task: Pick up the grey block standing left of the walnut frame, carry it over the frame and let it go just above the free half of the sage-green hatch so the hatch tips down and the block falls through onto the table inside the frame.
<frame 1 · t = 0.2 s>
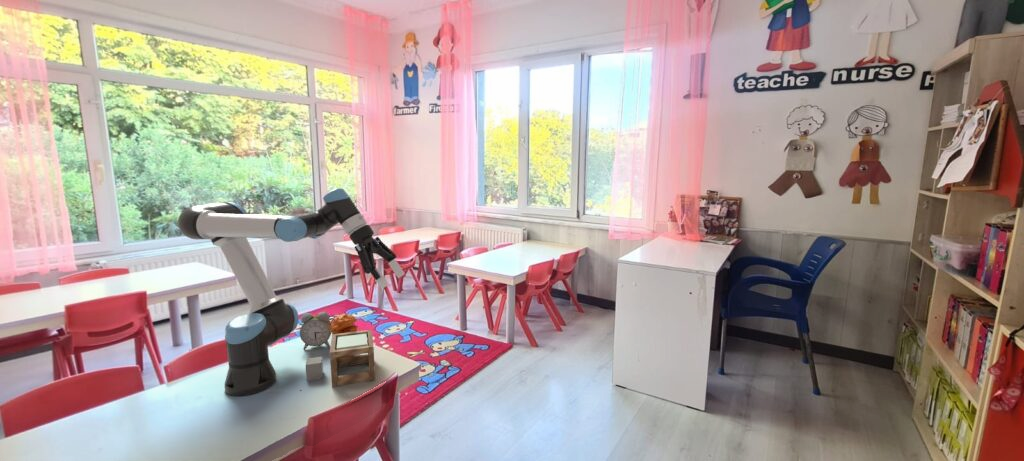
hand: (394, 281, 147), 35 cm above the table, tool tilted 35°, fingers open, 13 cm apart
grey block: (315, 376, 152), on the table
alarm clock: (317, 347, 176), on the table
frame: (353, 372, 155), on the table
hatch: (352, 341, 154), point 12 cm above the table, hinge at 0.0°
orange sculpture: (345, 356, 168), on the table
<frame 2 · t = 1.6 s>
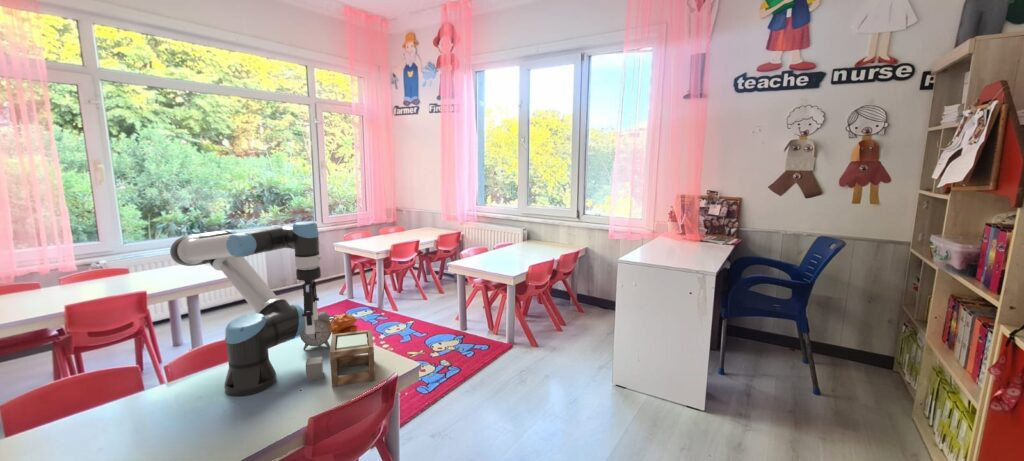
hand: (312, 326, 149), 19 cm above the table, tool pointing down, fingers open, 13 cm apart
nothing on the table moved.
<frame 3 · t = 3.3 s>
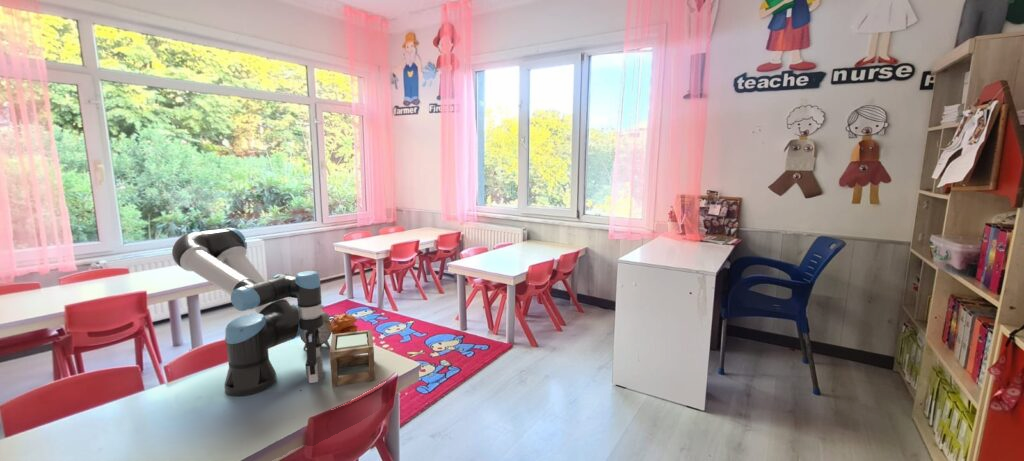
hand: (315, 373, 152), 1 cm above the table, tool pointing down, fingers open, 13 cm apart
nothing on the table moved.
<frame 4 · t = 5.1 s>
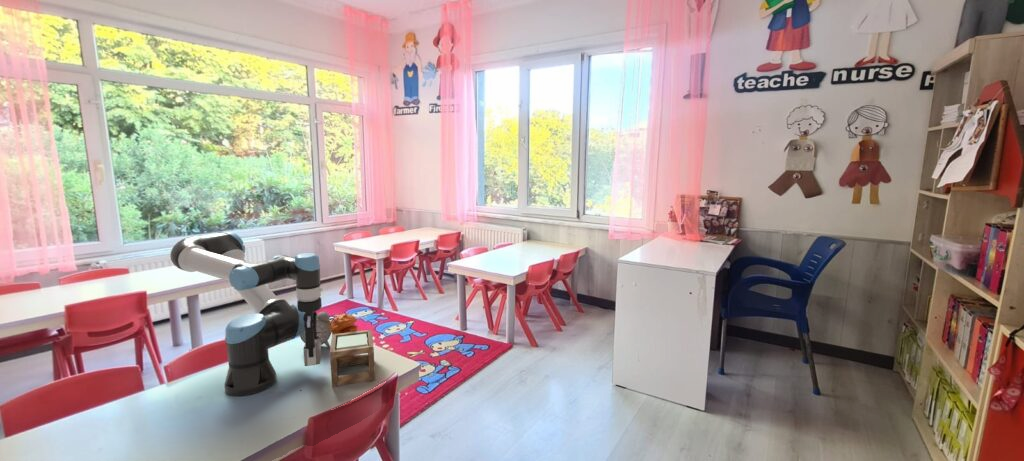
hand: (312, 360, 152), 6 cm above the table, tool pointing down, fingers closed on grey block, 5 cm apart
grey block: (313, 361, 152), point 5 cm above the table, touching gripper
everything else where it was.
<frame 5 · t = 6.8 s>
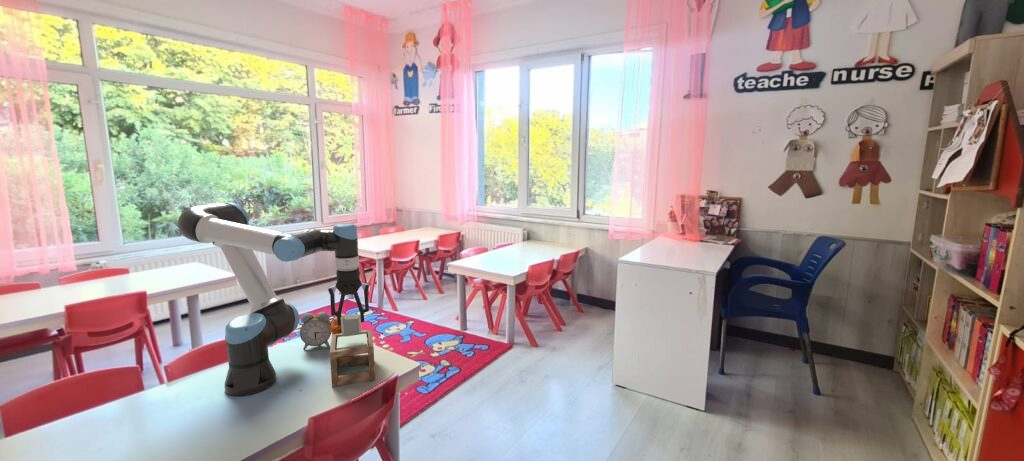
hand: (351, 331, 152), 16 cm above the table, tool pointing down, fingers closed on grey block, 5 cm apart
grey block: (351, 332, 152), point 16 cm above the table, touching gripper
everything else where it was.
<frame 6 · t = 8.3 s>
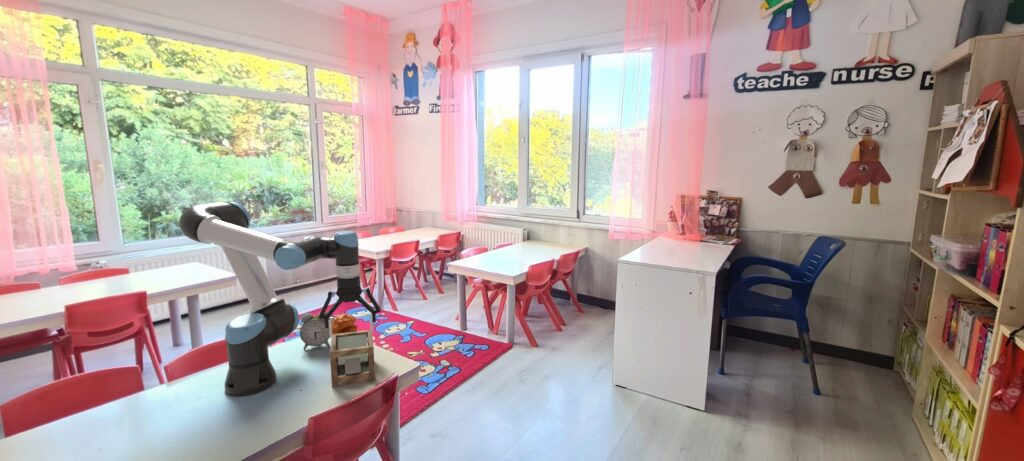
hand: (351, 333, 152), 15 cm above the table, tool pointing down, fingers open, 13 cm apart
grey block: (353, 367, 153), point 3 cm above the table, tilted 59°, touching frame, hatch
hatch: (352, 349, 156), point 8 cm above the table, hinge at -48.8°, touching grey block
everything else where it was.
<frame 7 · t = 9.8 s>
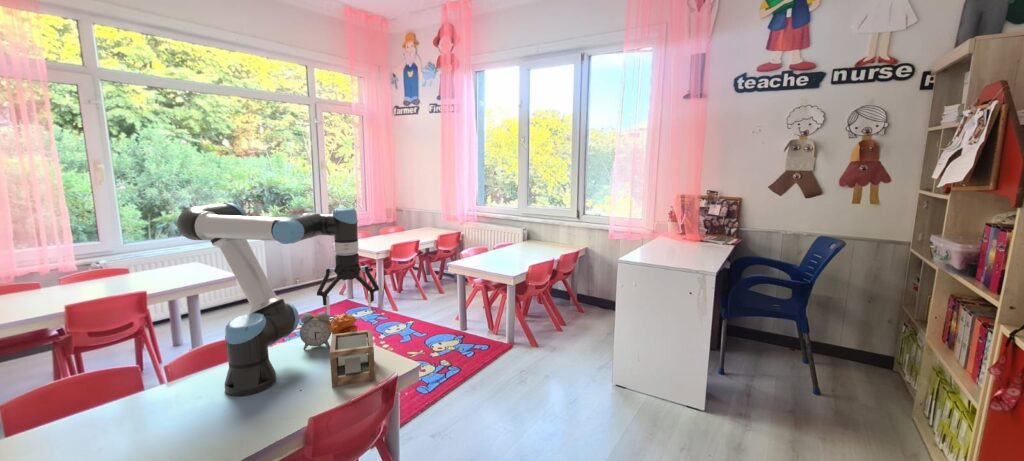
hand: (349, 312, 151), 23 cm above the table, tool pointing down, fingers open, 13 cm apart
grey block: (353, 370, 153), point 2 cm above the table, tilted 47°, touching frame, hatch
hatch: (352, 349, 157), point 8 cm above the table, hinge at -54.1°, touching frame, grey block
everything else where it was.
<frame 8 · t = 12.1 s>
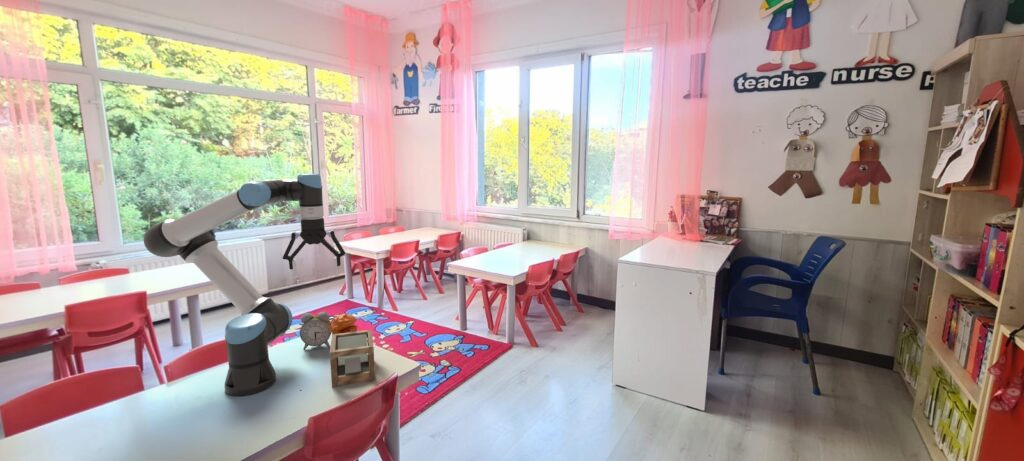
hand: (316, 276, 154), 35 cm above the table, tool pointing down, fingers open, 13 cm apart
grey block: (353, 370, 153), point 2 cm above the table, tilted 45°, touching frame, hatch
hatch: (352, 349, 156), point 8 cm above the table, hinge at -50.9°, touching grey block
everything else where it was.
at the end: grey block point 1.7 cm above the table; grey block inside the target area (1.8 cm from its centre), point 1.7 cm above the table; the gripper is holding nothing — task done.
